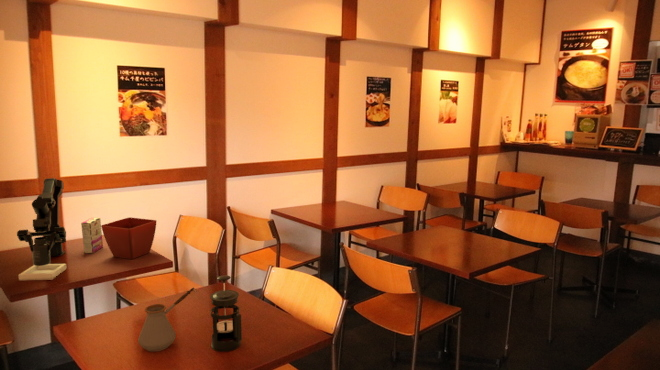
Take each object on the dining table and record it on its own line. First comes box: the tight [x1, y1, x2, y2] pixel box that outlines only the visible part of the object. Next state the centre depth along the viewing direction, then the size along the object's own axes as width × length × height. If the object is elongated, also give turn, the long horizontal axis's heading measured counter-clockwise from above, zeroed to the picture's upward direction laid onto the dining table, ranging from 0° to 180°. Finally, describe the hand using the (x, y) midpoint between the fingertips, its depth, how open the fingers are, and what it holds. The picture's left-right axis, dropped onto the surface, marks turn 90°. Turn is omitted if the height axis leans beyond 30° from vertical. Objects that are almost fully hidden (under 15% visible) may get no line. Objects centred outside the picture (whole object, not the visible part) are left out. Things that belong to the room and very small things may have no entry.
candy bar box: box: [80, 217, 104, 254], centre depth 255 cm, size 11×5×16 cm, turn 179°
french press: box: [209, 274, 243, 353], centre depth 155 cm, size 12×9×23 cm
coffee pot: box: [137, 287, 198, 353], centre depth 159 cm, size 21×12×15 cm, turn 143°
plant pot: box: [101, 217, 157, 260], centre depth 248 cm, size 19×19×17 cm
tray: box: [18, 263, 68, 281], centre depth 220 cm, size 14×14×2 cm
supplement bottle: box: [31, 236, 52, 266], centre depth 219 cm, size 7×7×12 cm
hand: (40, 250), depth 217 cm, fingers closed on supplement bottle, 7 cm apart
